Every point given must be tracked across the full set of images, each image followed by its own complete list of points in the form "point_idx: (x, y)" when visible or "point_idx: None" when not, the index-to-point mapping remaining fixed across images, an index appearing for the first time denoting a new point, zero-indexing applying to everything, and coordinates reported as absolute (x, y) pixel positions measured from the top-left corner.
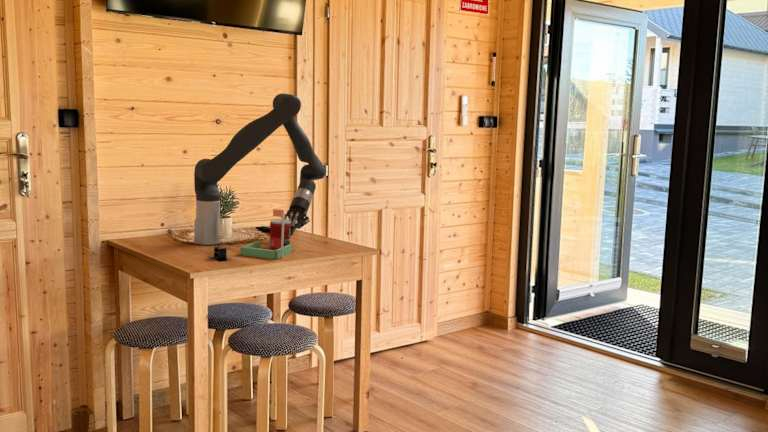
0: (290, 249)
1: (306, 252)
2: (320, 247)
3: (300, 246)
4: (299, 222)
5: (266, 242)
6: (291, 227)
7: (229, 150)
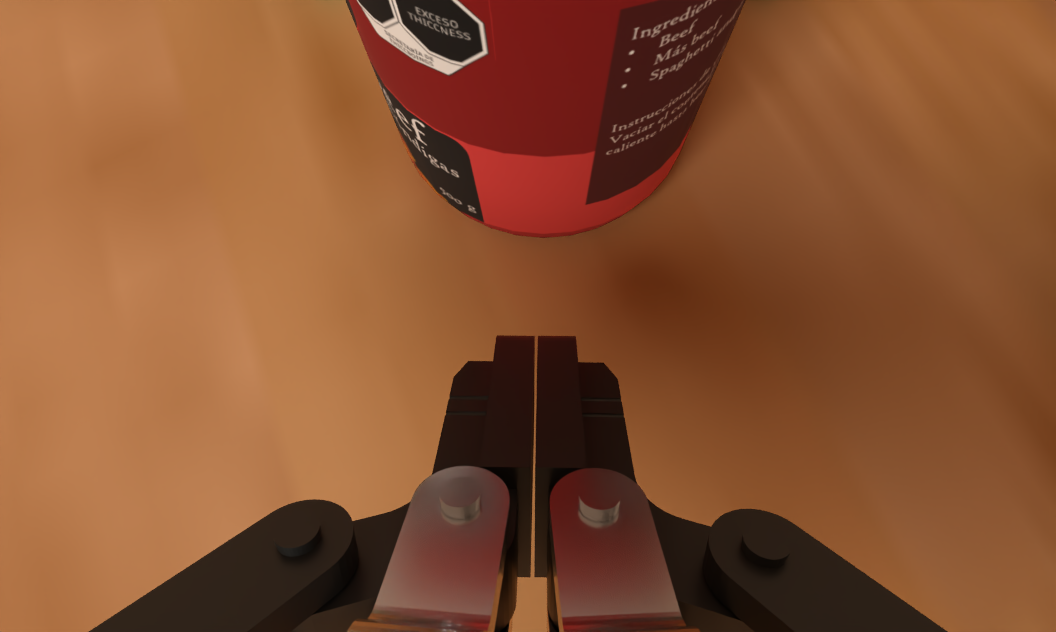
0: None
1: (144, 80)
2: (14, 488)
3: (327, 397)
4: (212, 611)
5: (919, 413)
6: (491, 438)
7: None
